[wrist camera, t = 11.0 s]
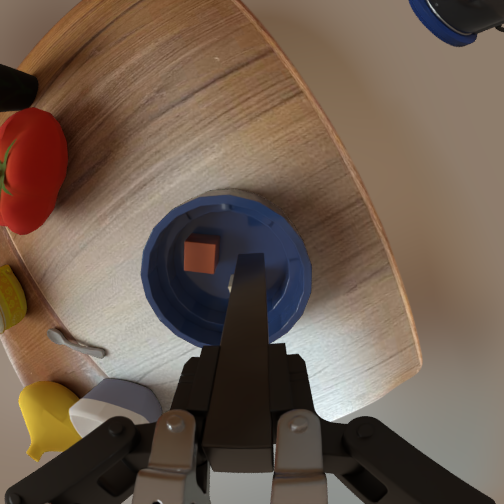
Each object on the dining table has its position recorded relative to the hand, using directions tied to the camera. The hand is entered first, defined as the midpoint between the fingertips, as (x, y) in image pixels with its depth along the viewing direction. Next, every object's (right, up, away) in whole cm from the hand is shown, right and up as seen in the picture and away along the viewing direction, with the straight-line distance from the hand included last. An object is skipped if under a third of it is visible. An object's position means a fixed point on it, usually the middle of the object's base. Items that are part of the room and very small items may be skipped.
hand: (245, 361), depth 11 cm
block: (-5, +5, +19) cm, 20 cm away
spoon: (-29, -10, +26) cm, 40 cm away
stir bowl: (-2, +4, +20) cm, 21 cm away
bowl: (-21, -22, +30) cm, 43 cm away
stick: (0, +4, +10) cm, 11 cm away
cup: (-33, +28, +13) cm, 45 cm away
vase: (-41, -28, +32) cm, 59 cm away
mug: (-43, -2, +23) cm, 49 cm away
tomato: (-28, +16, +17) cm, 37 cm away
